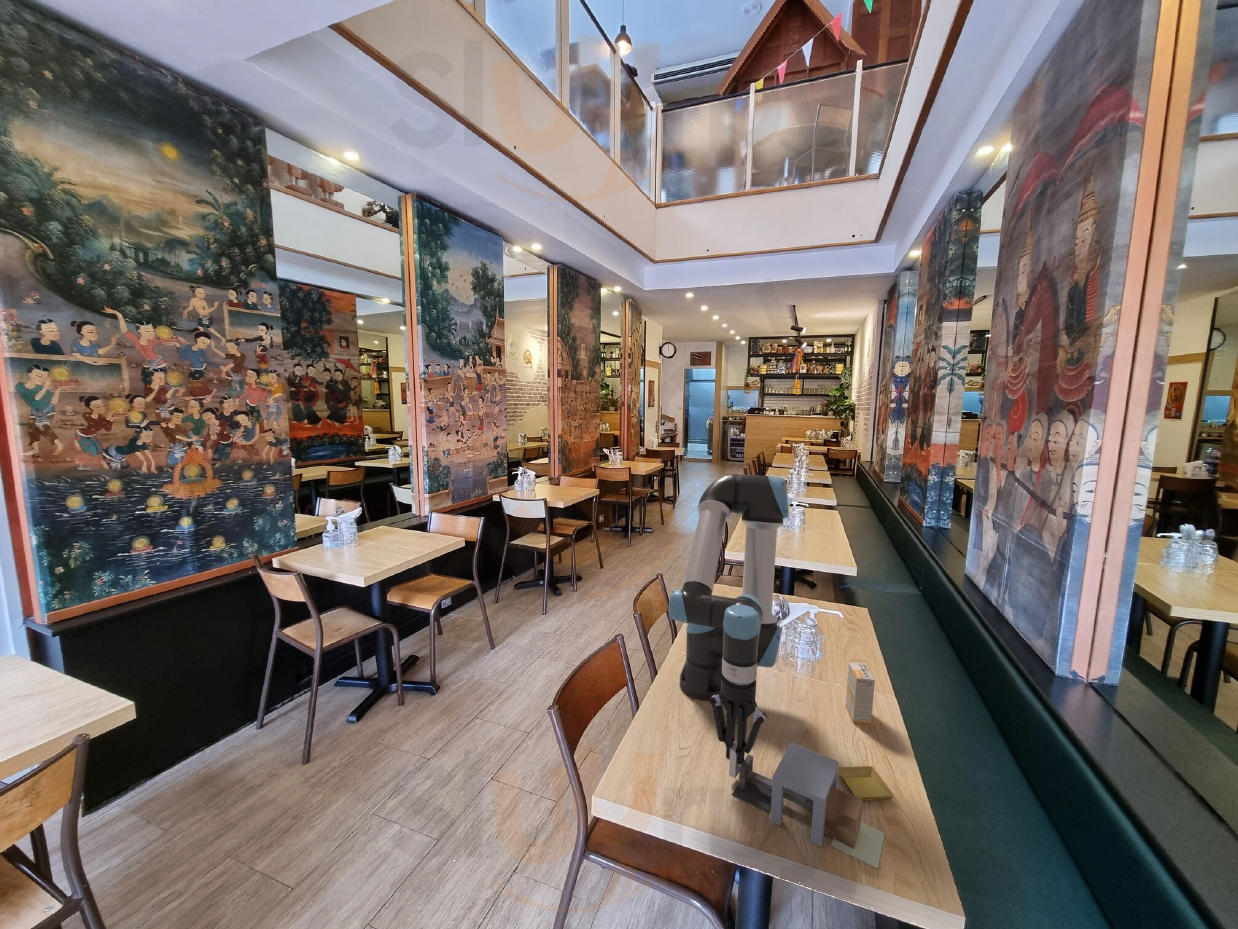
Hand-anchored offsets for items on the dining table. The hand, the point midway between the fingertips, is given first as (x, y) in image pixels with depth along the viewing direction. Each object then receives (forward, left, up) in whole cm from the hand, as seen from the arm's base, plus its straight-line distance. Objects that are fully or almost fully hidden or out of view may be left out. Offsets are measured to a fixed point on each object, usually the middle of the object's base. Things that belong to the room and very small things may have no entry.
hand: (734, 773), depth 110 cm
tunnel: (+15, 0, -2) cm, 15 cm away
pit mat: (+5, 0, -2) cm, 6 cm away
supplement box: (+18, +42, -2) cm, 46 cm away
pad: (+26, 0, -2) cm, 26 cm away
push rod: (+14, 0, -1) cm, 14 cm away
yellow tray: (+24, +15, -2) cm, 29 cm away
